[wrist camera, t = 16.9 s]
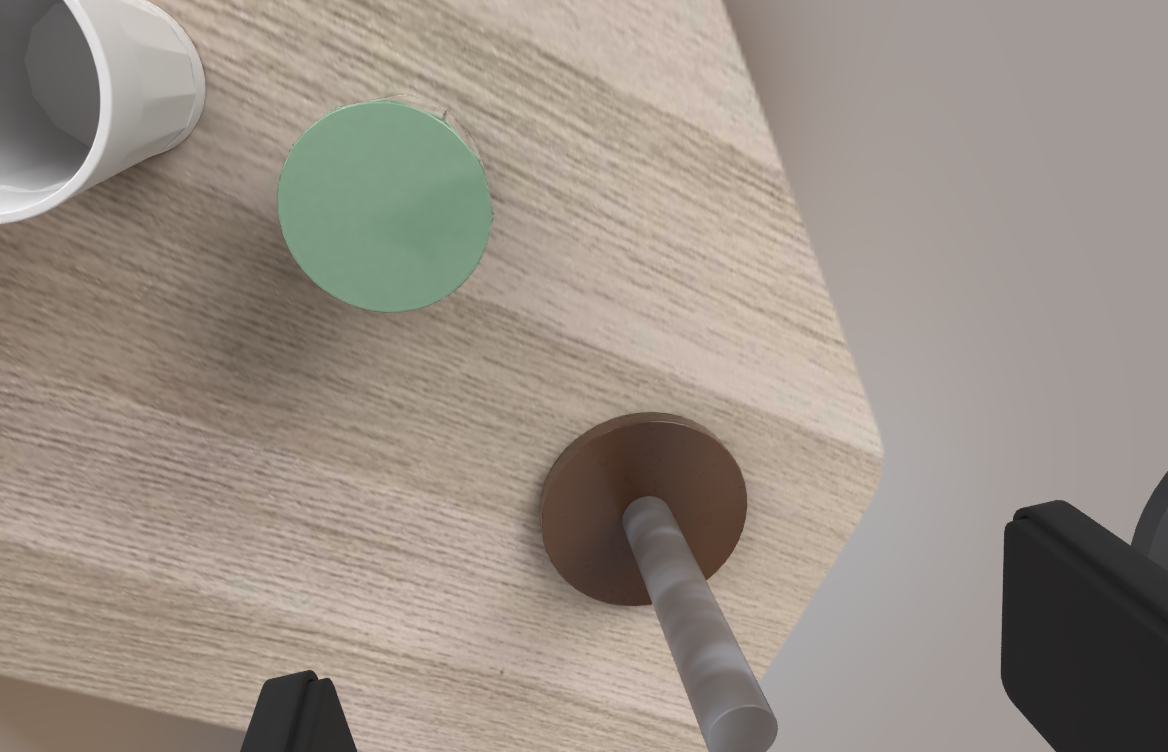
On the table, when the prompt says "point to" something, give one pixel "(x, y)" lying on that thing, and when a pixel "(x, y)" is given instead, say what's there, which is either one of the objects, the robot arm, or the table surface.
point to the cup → (88, 95)
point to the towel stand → (662, 553)
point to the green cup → (386, 204)
